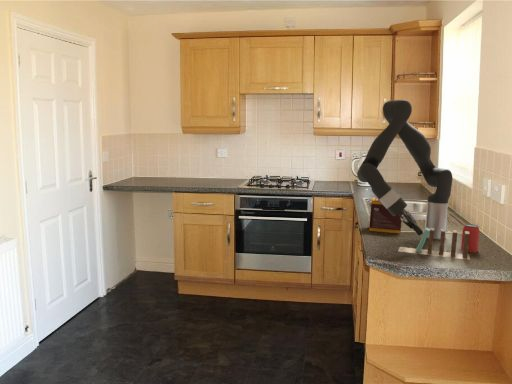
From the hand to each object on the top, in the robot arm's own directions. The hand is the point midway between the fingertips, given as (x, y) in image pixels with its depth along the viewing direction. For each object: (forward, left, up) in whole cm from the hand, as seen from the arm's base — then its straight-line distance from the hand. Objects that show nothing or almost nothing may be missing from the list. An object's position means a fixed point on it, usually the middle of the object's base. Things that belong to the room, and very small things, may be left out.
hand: (421, 233), depth 205 cm
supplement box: (-22, -39, -9) cm, 45 cm away
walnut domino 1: (-2, +3, -7) cm, 8 cm away
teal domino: (0, -1, -7) cm, 7 cm away
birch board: (-3, +4, -9) cm, 10 cm away
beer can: (-22, +8, -9) cm, 25 cm away
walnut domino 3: (-7, +10, -7) cm, 15 cm away
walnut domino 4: (-10, +14, -7) cm, 19 cm away
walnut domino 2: (-5, +7, -7) cm, 11 cm away
